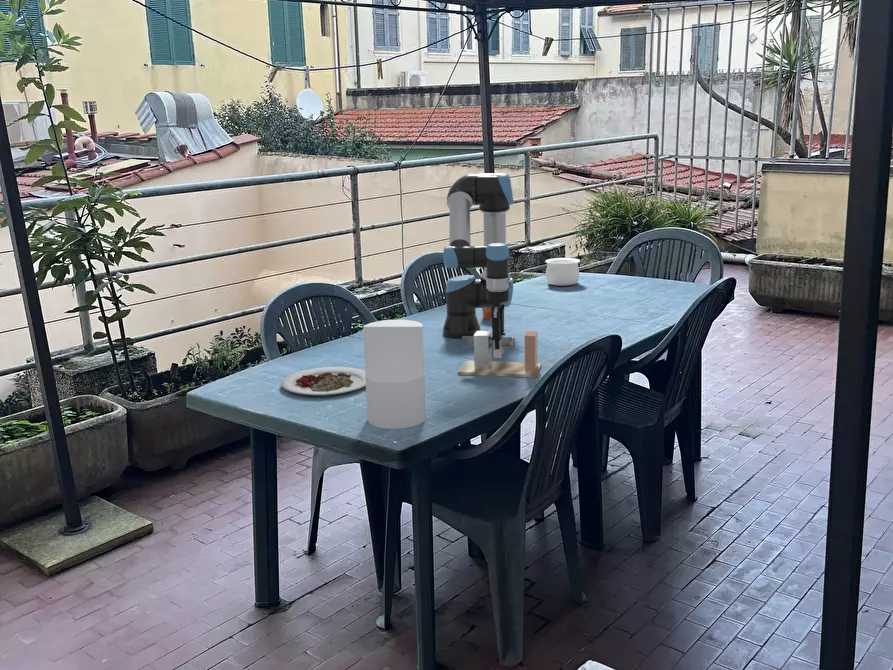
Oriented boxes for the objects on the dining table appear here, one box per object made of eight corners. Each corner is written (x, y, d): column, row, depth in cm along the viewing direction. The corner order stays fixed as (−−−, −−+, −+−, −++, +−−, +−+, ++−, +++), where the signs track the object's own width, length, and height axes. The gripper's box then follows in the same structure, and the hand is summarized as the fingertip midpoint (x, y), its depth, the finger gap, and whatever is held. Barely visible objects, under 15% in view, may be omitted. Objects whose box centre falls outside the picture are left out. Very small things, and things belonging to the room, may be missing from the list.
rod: (461, 347, 300) (461, 337, 299) (463, 344, 303) (463, 334, 303) (513, 349, 296) (513, 338, 295) (515, 346, 300) (514, 336, 299)
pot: (565, 290, 428) (565, 265, 425) (536, 286, 439) (536, 262, 436) (588, 282, 445) (588, 259, 442) (559, 279, 455) (559, 256, 452)
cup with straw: (490, 320, 371) (489, 279, 366) (475, 317, 378) (474, 276, 373) (505, 317, 377) (504, 276, 372) (490, 313, 383) (489, 273, 379)
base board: (458, 374, 297) (458, 371, 297) (465, 362, 311) (465, 360, 310) (536, 377, 292) (536, 374, 291) (541, 365, 305) (541, 362, 305)
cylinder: (373, 408, 266) (368, 319, 259) (429, 408, 264) (426, 319, 257) (362, 428, 249) (357, 334, 242) (422, 429, 248) (418, 334, 241)
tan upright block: (524, 371, 296) (524, 335, 293) (527, 365, 302) (527, 330, 299) (535, 371, 295) (535, 336, 292) (537, 365, 301) (537, 331, 298)
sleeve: (474, 368, 300) (473, 335, 297) (477, 363, 305) (476, 330, 302) (488, 369, 299) (488, 335, 296) (491, 364, 304) (491, 331, 301)
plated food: (380, 393, 281) (380, 383, 280) (287, 404, 273) (286, 393, 272) (362, 368, 309) (362, 359, 308) (277, 377, 301) (276, 368, 300)
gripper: (505, 294, 285) (505, 363, 291) (512, 284, 301) (512, 349, 307) (482, 294, 287) (483, 362, 293) (490, 284, 303) (491, 349, 309)
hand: (498, 355), depth 300 cm, fingers closed on rod, 4 cm apart
